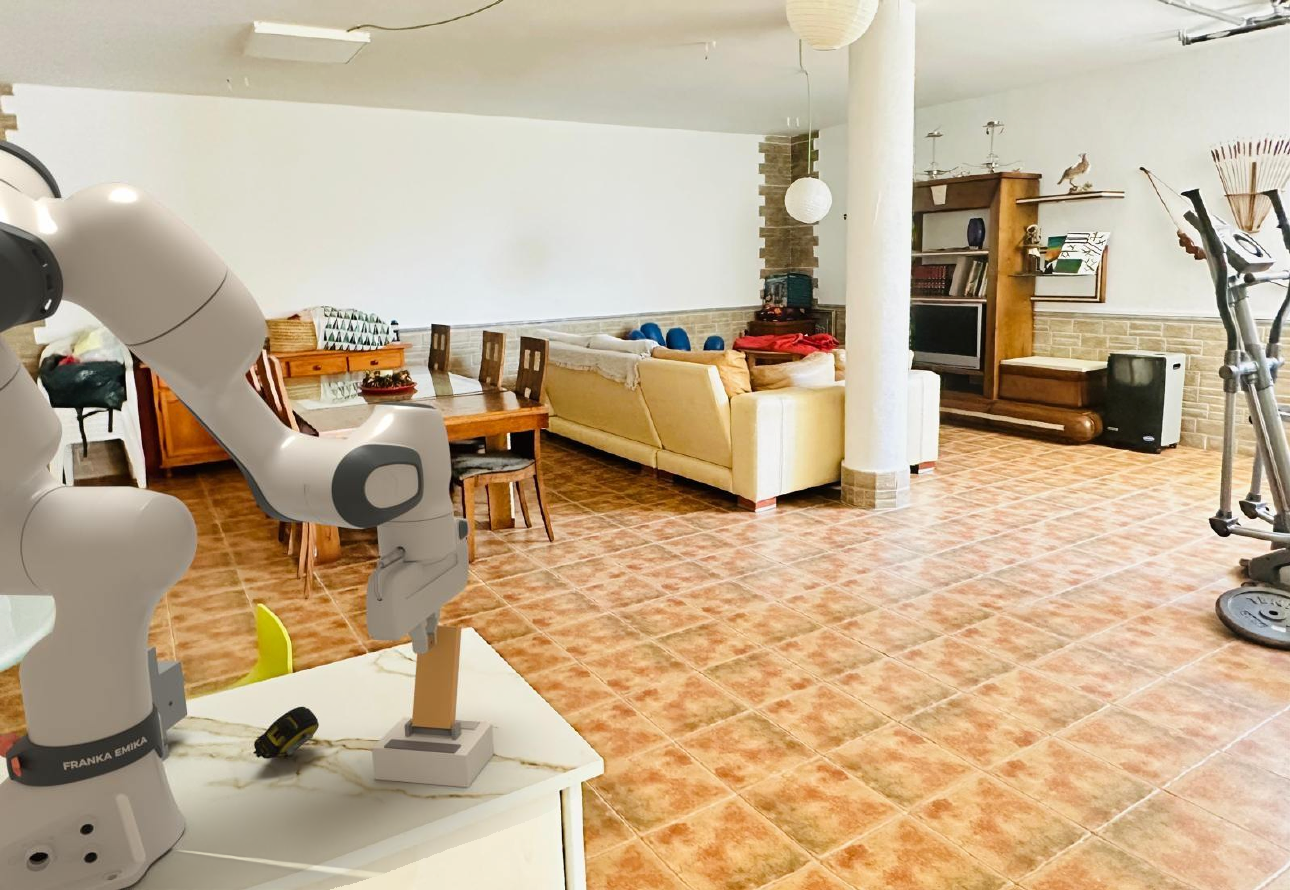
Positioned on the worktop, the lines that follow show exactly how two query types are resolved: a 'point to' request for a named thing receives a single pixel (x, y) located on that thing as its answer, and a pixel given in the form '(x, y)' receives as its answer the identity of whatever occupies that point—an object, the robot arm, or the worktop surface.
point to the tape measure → (287, 734)
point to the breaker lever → (437, 684)
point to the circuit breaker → (167, 692)
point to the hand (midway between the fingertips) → (425, 649)
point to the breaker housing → (433, 754)
